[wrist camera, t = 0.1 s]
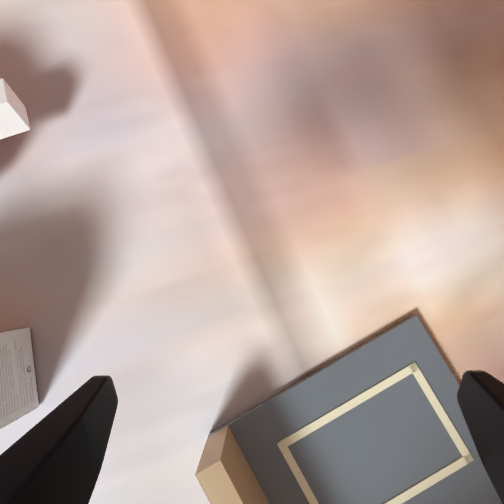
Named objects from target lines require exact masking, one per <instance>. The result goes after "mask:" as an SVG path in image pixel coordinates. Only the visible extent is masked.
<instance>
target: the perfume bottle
mask: <svg viewBox="0 0 504 504" xmlns="http://www.w3.org/2000/svg"><path fill="white" fill-rule="evenodd" d="M28 130H30V125H29V121H28V116H27V112H26V107H25V106H24V105H23V103H22V102H21V101H20V99H19V98H18V97H17V96H16V94H15V93H14V92H13V90H12V89H11V88H10V87H9V85H8V84H7V83H6V82H5V80H4V79H3V78H1V79H0V139H3V138H7V137H10V136H13V135H16V134H19V133H22V132H25V131H28Z"/></svg>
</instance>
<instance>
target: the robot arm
mask: <svg viewBox="0 0 504 504" xmlns="http://www.w3.org/2000/svg"><path fill="white" fill-rule="evenodd" d="M457 400H458V404H459V406H460V409H461V412H462V414H463V417H464V419H465V422H466V424H467V427H468V429H469V432H470V434H471V437H472V439H473V442H474V444H475V447H476V449H477V452H478V454H479V457H480V459H481V461H482V464H483V466H484V468H485V470H486V472H487V474H488V476H489V478H490V480H491V482H492V484H493V486H494V488H495V490H496V492H497V494H498V496H499V498H500V500H501V502H502V504H504V383H502V382H500V381H499V380H497V379H496V378H494V377H493V376H491V375H490V374H488V373H487V372H485V371H481V370H470V371H466V372H465V373H464V374H463V377H462V380H461V383H460V386H459V389H458V392H457ZM117 404H118V398H117V394H116V391H115V387H114V384H113V381H112V378H111V377H110V376H94V377H92V378H90V379H89V380H88V381H87V382H86V383H85V384H83V385H82V386H81V387H80V388H79V389H78V390H76V391H75V392H74V393H73V394H72V395H70V396H69V397H68V398H67V399H66V400H65V401H63V402H62V403H61V404H60V405H59V406H58V407H56V408H55V409H54V410H53V411H52V412H50V413H49V414H48V415H47V416H46V417H45V418H43V419H42V420H41V421H40V422H39V423H38V424H36V425H35V426H34V427H33V428H32V429H30V430H29V431H28V432H27V433H26V434H25V435H23V436H22V437H21V438H20V439H19V440H18V441H16V442H15V443H14V444H13V445H12V446H10V447H9V448H8V449H7V450H6V451H5V452H3V453H2V454H1V455H0V504H88V503H89V500H90V498H91V495H92V492H93V490H94V487H95V484H96V481H97V479H98V476H99V473H100V470H101V467H102V463H103V460H104V456H105V452H106V448H107V444H108V440H109V436H110V433H111V429H112V425H113V421H114V417H115V413H116V409H117Z"/></svg>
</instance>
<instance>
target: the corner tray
mask: <svg viewBox="0 0 504 504" xmlns="http://www.w3.org/2000/svg"><path fill="white" fill-rule="evenodd" d="M459 386H460V385H459V384H458V382H457V380H456V379H455V377H454V375H453V374H452V372H451V371H450V369H449V367H448V366H447V364H446V362H445V361H444V359H443V357H442V356H441V354H440V353H439V351H438V349H437V348H436V346H435V344H434V343H433V341H432V339H431V338H430V336H429V334H428V333H427V331H426V330H425V328H424V326H423V325H422V323H421V321H420V320H419V318H418V316H417V315H412V316H410V317H409V318H407V319H405V320H404V321H402V322H400V323H398V324H397V325H395V326H393V327H392V328H390V329H388V330H386V331H385V332H383V333H381V334H380V335H378V336H376V337H374V338H373V339H371V340H369V341H368V342H366V343H364V344H362V345H361V346H359V347H357V348H355V349H354V350H352V351H350V352H349V353H347V354H345V355H343V356H342V357H340V358H338V359H337V360H335V361H333V362H331V363H330V364H328V365H326V366H325V367H323V368H321V369H319V370H318V371H316V372H314V373H313V374H311V375H309V376H307V377H306V378H304V379H302V380H301V381H299V382H297V383H295V384H294V385H292V386H290V387H289V388H287V389H285V390H283V391H282V392H280V393H278V394H277V395H275V396H273V397H271V398H270V399H268V400H266V401H265V402H263V403H261V404H259V405H258V406H256V407H254V408H253V409H251V410H249V411H247V412H246V413H244V414H242V415H240V416H239V417H237V418H235V419H234V420H232V421H230V422H228V423H227V424H225V425H223V426H222V427H220V428H218V429H216V430H215V431H213V432H211V433H210V434H209V435H208V438H207V441H206V444H205V447H204V450H203V453H202V456H201V459H200V462H199V465H198V468H197V471H196V474H195V475H196V477H197V479H198V481H199V483H200V485H201V487H202V489H203V491H204V492H205V494H206V496H207V498H208V500H209V502H210V504H502V502H501V500H500V498H499V496H498V494H497V492H496V490H495V488H494V486H493V484H492V482H491V480H490V478H489V476H488V474H487V472H486V470H485V468H484V466H483V464H482V461H481V459H480V457H479V454H478V452H477V449H476V447H475V444H474V442H473V439H472V437H471V434H470V432H469V429H468V427H467V424H466V422H465V419H464V417H463V414H462V412H461V409H460V406H459V404H458V400H457V392H458V389H459Z"/></svg>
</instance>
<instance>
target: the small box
mask: <svg viewBox="0 0 504 504" xmlns="http://www.w3.org/2000/svg"><path fill="white" fill-rule="evenodd" d="M38 407H39V401H38V393H37V384H36V375H35V368H34V359H33V351H32V342H31V334H30V328H29V327H26V328H21V329H15V330H9V331H4V332H0V429H1V428H3V427H5V426H6V425H8V424H10V423H12V422H13V421H15V420H17V419H19V418H20V417H22V416H24V415H26V414H27V413H29V412H31V411H33V410H34V409H36V408H38Z"/></svg>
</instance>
